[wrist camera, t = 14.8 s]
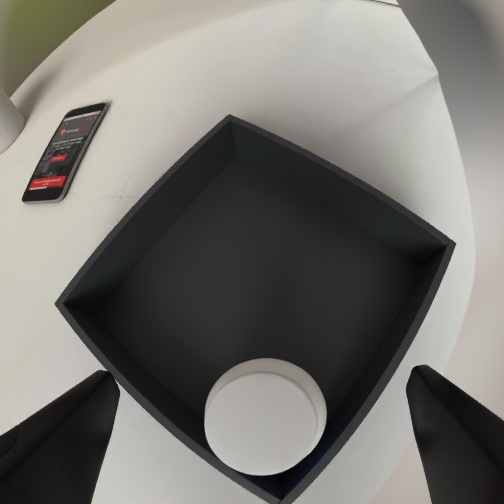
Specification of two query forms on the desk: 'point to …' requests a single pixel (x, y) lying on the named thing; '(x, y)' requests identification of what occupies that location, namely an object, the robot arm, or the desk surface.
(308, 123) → the desk surface
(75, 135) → the smartphone
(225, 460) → the pill bottle
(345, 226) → the dark grey storage tray
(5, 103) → the mug
